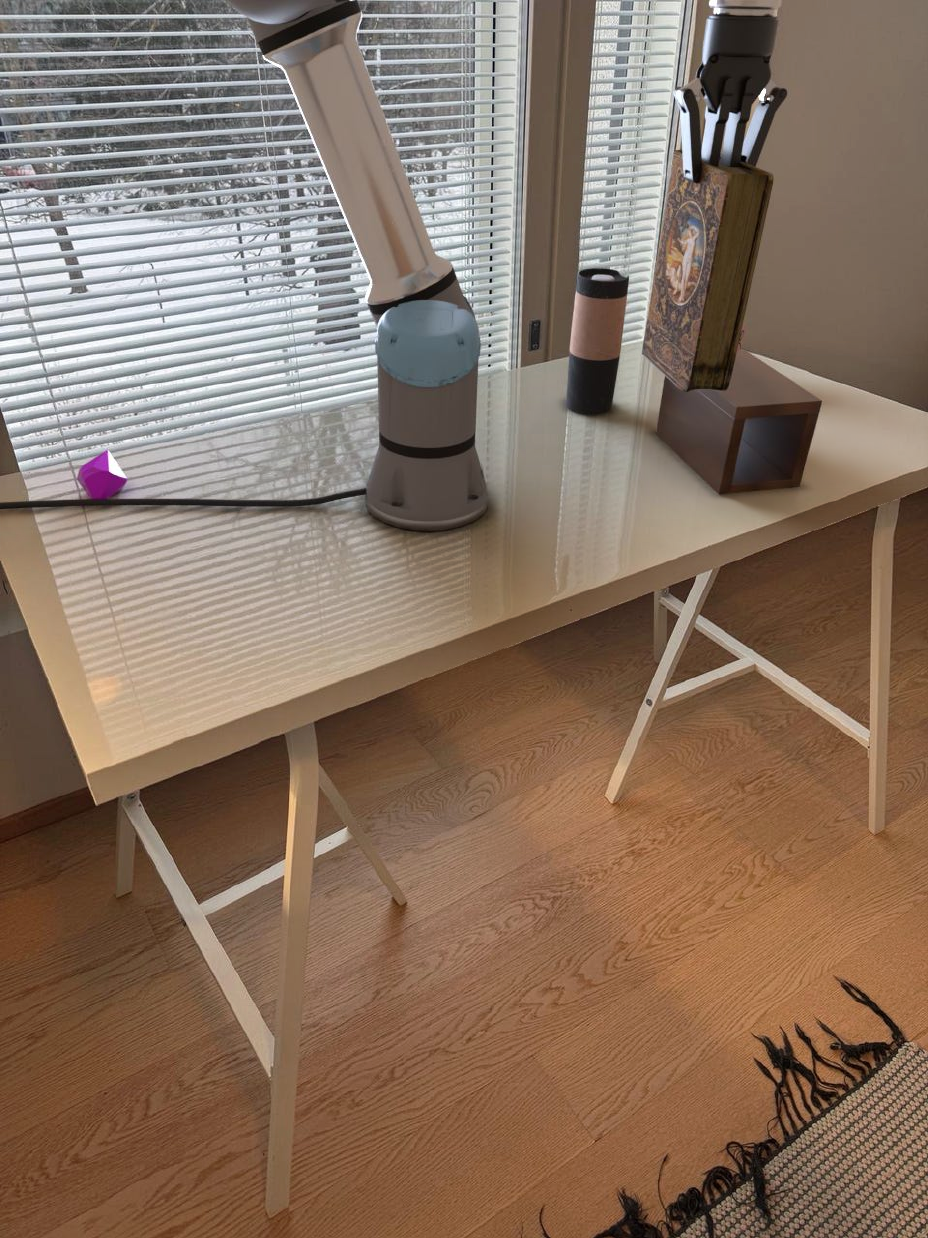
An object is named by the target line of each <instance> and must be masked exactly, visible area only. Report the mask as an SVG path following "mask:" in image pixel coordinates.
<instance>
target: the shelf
mask: <svg viewBox="0 0 928 1238" xmlns="http://www.w3.org/2000/svg"><path fill="white" fill-rule="evenodd" d="M659 404H660V405H659V411H658V417H657V423H656V428H655V429H656V430H655V435H656V436H657V437H658V438H660V439H661V440H662V442H664V443H665V444H666V445H667V446H668V447H669V448H670V449H671V450H672V451H673V452H674V453H675V454H676V455H677V456H678V457H679V458H680V459H681V460H682V461H683V462H685V464H686V465H687V466H689V467H690V468H691V470H693V471H694V472H695V473H696V474H697V475H698V476H699V477H700V478H701V479H702V480H703V481H704V482H705V483H706V484H708V485H709V486H710V487H711V489H713V490H714V491H715V492H716V494H718V495H724V494H725V495H726V494H735V493H745V492H746V493H747V492H757V491H766V490H768V491H769V490H777V489H778V490H779V489H787V488H797V487H798V488H799V487H801V485H802V484H801V483H802V480H803V476H804V473H805V468H806V465H807V460H808V457H809V454H810V449H811V446H812V442H813V438H814V434H815V431H816V426H817V423H818V419H819V415H820V412H821V407H822V405H823V400H822V399H820V398H819V397H817V396H816V395H815V394H813V393H812V392H810V391H809V390H807V389H805V388H804V387H802V386H801V385H799V384H798V383H797V382H795V381H793V380H792V379H791V378H789V377H787V376H786V375H784V374H782V373H781V372H780V371H778V370H776V369H775V368H773V367H772V366H771V365H769V364H767V363H766V362H764V361H763V360H761V359H760V358H758V357H756V356H755V355H754V354H752V353H751V352H749V351H748V350H747V349H741V350H737V353H736V358H735V362H734V367H733V371H732V376H731V380H730V383H729V386H728V389H727V390H726V391H721V390H713V389H695V390H691V391H689V392H683V391H682V390H681V389H680V388H678V387H677V386H676V385H674V384H673V383H672V382H671V381H670V380H669V379H668V378H667V377H666V376H665V375H664V380H663V386H662V391H661V398H660V403H659Z"/></svg>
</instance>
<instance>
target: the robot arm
mask: <svg viewBox="0 0 928 1238" xmlns="http://www.w3.org/2000/svg"><path fill="white" fill-rule="evenodd" d="M225 1H226V2H227V3H228V4H229V5H230V6H231V7H232V8H233V9H234V10H235V11H237V12H238V13H240V14H241V15H242V16H244V17H246V19H247V22H248V24H249V27H250V28H251V32H252V33H253V36H254V39H255V41H256V43H257V44H258V48H259V50H260V52H261V54H262V57H263V59H264V60H265V61H267V62H269V63H271V64H272V65H274V66H277V67H279V68H280V69H281V70H282V71H283V72H284V74H285V77H286V79H287V81H288V84H289V86H290V88H291V91H292V93H293V96H294V98H295V101H296V103H297V106H298V108H299V110H300V113H301V116H302V118H303V120H304V122H305V125H306V127H307V130H308V133H309V134H310V137H311V140H312V142H313V145H314V147H315V149H316V151H317V154H318V157H319V159H320V162H321V164H322V166H323V169H324V171H325V174H326V176H327V178H328V180H329V183H330V185H331V188H332V190H333V194H334V195H335V198H336V201H337V203H338V205H339V208H340V210H341V213H342V215H343V217H344V219H345V222H346V224H347V228H348V229H349V232H350V234H351V236H352V239H353V241H354V244H355V246H356V248H357V251H358V253H359V256H360V258H361V261H362V264H363V265H364V268H365V271H366V273H367V275H368V278H369V280H370V282H369V283H370V284H369V286H368V288H367V292H366V295H365V297H364V299H365V302H366V306H367V307H368V310H369V313H370V314H371V317H372V320H373V322H374V324H375V327H376V335H375V341H374V351H375V355H376V362H377V363H376V364H377V365H376V366H377V368H376V369H377V397H378V398H377V402H378V403H377V406H378V407H377V408H378V447H377V450H376V453H375V457H374V460H373V462H372V465H371V470H370V472H369V476H368V479H367V482H366V486H365V487H362V488H357V489H352V490H346V491H341V492H335V493H332V494H328V495H324V496H320V497H319V496H318V497H312V498H301V499H299V498H298V499H220V498H218V499H217V498H108V499H91V498H82V499H81V498H80V499H76V498H75V499H47V500H26V501H25V500H21V501H20V500H19V501H1V502H0V510H15V509H16V510H17V509H32V508H33V509H36V508H37V509H38V508H63V507H64V508H65V507H96V506H97V507H105V506H106V507H107V506H109V507H111V506H117V507H118V506H190V507H192V506H197V507H198V506H200V507H251V508H253V507H258V508H259V507H267V508H268V507H271V508H273V507H274V508H276V507H277V508H279V507H281V508H283V507H285V508H286V507H287V508H288V507H289V508H291V507H305V506H316V505H317V506H318V505H321V504H322V505H323V504H327V503H330V502H335V501H340V500H344V499H349V498H355V497H360V496H365V506H366V508H367V510H368V512H369V513H370V515H372V516H373V517H375V518H376V519H377V520H379V521H380V522H382V523H385V524H387V525H390V526H392V527H396V528H399V529H404V530H410V531H418V532H419V531H420V532H423V531H424V532H437V531H446V530H452V529H456V528H459V527H463V526H466V525H468V524H471V523H473V522H474V521H476V520H478V519H479V518H481V516H483V514H484V513H485V512H486V510H487V509H488V499H489V498H488V497H489V495H488V485H487V481H486V478H485V472H484V467H483V464H482V463H481V461H480V458H479V455H478V452H477V448H476V428H477V405H478V384H479V383H478V381H479V358H480V355H481V348H482V344H481V341H482V340H481V336H480V329H479V324H478V322H477V319H476V315H475V312H474V309H473V307H472V305H471V303H470V302H469V301H468V298H467V297H466V296H465V295H464V294H463V290H462V288H461V285H460V281H459V280H458V277H457V274H456V270H455V269H454V266H453V264H452V262H451V260H448V259H446V258H444V257H441V256H439V255H438V254H437V253H435V250H434V246H433V245H432V242H431V238H430V236H429V233H428V231H427V228H426V225H425V222H424V220H423V217H422V214H421V212H420V209H419V206H418V204H417V201H416V198H415V195H414V193H413V190H412V187H411V184H410V181H409V179H408V176H407V173H406V171H405V168H404V165H403V162H402V160H401V157H400V154H399V152H398V148H397V146H396V144H395V140H394V138H393V136H392V132H391V130H390V127H389V124H388V122H387V119H386V116H385V113H384V111H383V108H382V106H381V103H380V100H379V98H378V94H377V92H376V89H375V86H374V83H373V81H372V78H371V74H370V72H369V70H368V68H367V67H368V66H367V65H366V62H365V59H364V57H363V54H362V50H361V49H360V46H359V43H358V39H357V37H358V36H357V35H358V31H359V28H360V24H361V22H362V18H363V13H362V10H361V7H360V4H359V2H358V0H225ZM782 3H783V0H708V7H709V9H712V14H708V17H707V18H706V21H705V28H704V33H703V43H702V47H701V48H702V50H701V51H702V52H701V53H702V58H701V62H700V65H699V67H698V68H697V70H696V73H695V78H693V79H692V80H690V82H688V83H687V84H686V85H684V86H677V87H676V88H675V89H674V90H673V97H674V99H675V102H676V104H677V107H678V109H679V119H680V134H681V135H680V136H681V137H680V138H681V150H682V155H683V172H684V178H685V179H687V180H689V181H691V182H694V183H696V184H697V183H699V182H700V177H701V170H702V162H705V163H707V164H709V165H712V166H714V167H718V166H719V160H720V154H722V156H721V163H720V164H723V165H726V166H728V167H740V161H741V162H744V163H746V164H749V165H752V166H754V167H757V164H758V161H759V159H760V155H761V153H762V151H763V148H764V145H765V142H766V140H767V137H768V135H769V131H770V129H771V127H772V123H773V122H774V121H773V120H774V118H775V116H776V113H777V111H778V110H779V108H780V107H781V105H782V104H783V102H784V101H785V100H786V98H787V96H788V90H787V89H786V88H785V87H779V86H778V84H776V83H775V81H773V79H772V68H771V57H772V55H773V53H774V49H775V45H776V44H775V43H776V37H777V33H778V27H779V21H780V20H779V19H778V16H775V10H779V9H780V8H781V7H782ZM700 95H701V96H702V98H703V100H704V102H705V111H704V119H705V125H704V130H703V137H701V135H702V134H701V115H700V107H699V104H698V103H699V102H700V101H701V96H700ZM757 99H759V102H758V103H757V104H756V107H755V109H754V112H753V114H752V118H751V113H752V107H753V104H754V103H755V102H756V100H757ZM750 119H751V121H750ZM749 121H750V123H749V127H748V129H747V123H748V122H749ZM746 129H747V131H746Z"/></svg>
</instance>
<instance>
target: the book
mask: <svg viewBox="0 0 928 1238" xmlns="http://www.w3.org/2000/svg"><path fill="white" fill-rule="evenodd" d="M721 156H722V153H721V154H720V160H719V166H718V167H714V166H712V165H709V164H707V163H705V162H702V170H701V177H700V182H699V183H697V184H696V183H694V182H691V181H689V180H687V179H685V178H684V172H683V155H682V149H675V150H673V155H672V161H671V168H670V174H669V180H668V187H667V191H666V198H665V206H664V210H663V211H664V212H663V218H662V225H661V231H660V237H659V242H658V249H657V255H656V261H655V267H654V273H653V279H652V286H651V287H652V288H651V293H650V298H649V305H648V311H647V318H646V324H645V330H644V336H643V343H642V348H641V355H642V356H643V357H644V358H645V359H646V360H647V361H648V362H649V363H650V364H651V365H653V366H654V367H655V369H657V370H658V371H659V372H660V373H661V374H662V375H663V376H664V377H665V376H666V377H667V378H668V379H669V380H670V381H671V382H672V383H673V384H674V385H676V386H677V387H678V388H680V389H681V390H682V391H683V392H689V391H691V390H695V389H713V390H721V391H726V390H727V389H728V386H729V383H730V380H731V376H732V371H733V367H734V362H735V358H736V353H737V348H738V344H739V339H740V334H741V330H742V325H743V322H744V320H745V316H746V311H747V307H748V301H749V297H750V292H751V288H752V283H753V279H754V273H755V269H756V264H757V260H758V255H759V250H760V247H761V242H762V237H763V232H764V227H765V223H766V218H767V213H768V209H769V206H770V205H769V204H770V200H771V195H772V191H773V185H774V179H775V177H774V174H773V173H772V172H769V171H767V170H764V169H762V168H760V167H757V166H756V167H754V166H752V165H749V164H746V163H744V162H741V161H740V167H728V166H726V165H723V164H720V163H721Z"/></svg>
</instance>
